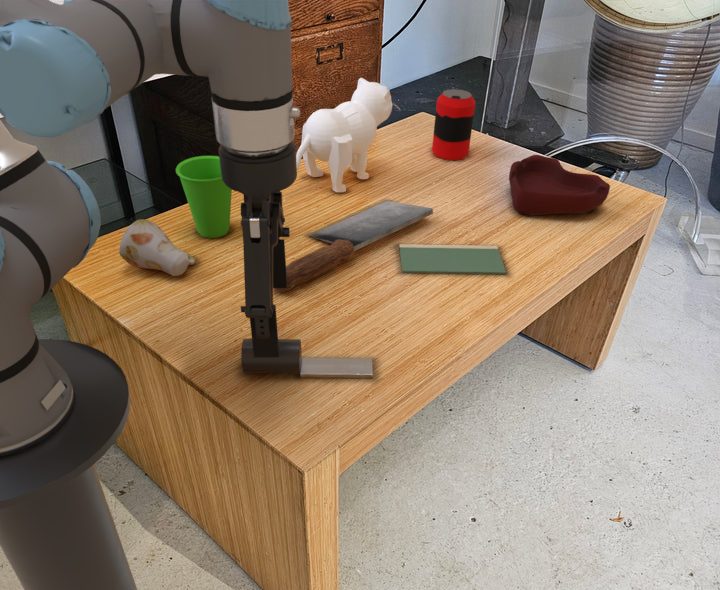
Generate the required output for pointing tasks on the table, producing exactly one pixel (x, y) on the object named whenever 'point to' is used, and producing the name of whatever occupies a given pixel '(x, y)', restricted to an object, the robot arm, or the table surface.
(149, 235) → the pale spotted pear
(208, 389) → the table surface
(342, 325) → the table surface
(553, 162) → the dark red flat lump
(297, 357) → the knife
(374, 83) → the cat figurine
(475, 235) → the table surface
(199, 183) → the cup
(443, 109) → the soda can
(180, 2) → the robot arm
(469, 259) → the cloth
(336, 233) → the meat cleaver
